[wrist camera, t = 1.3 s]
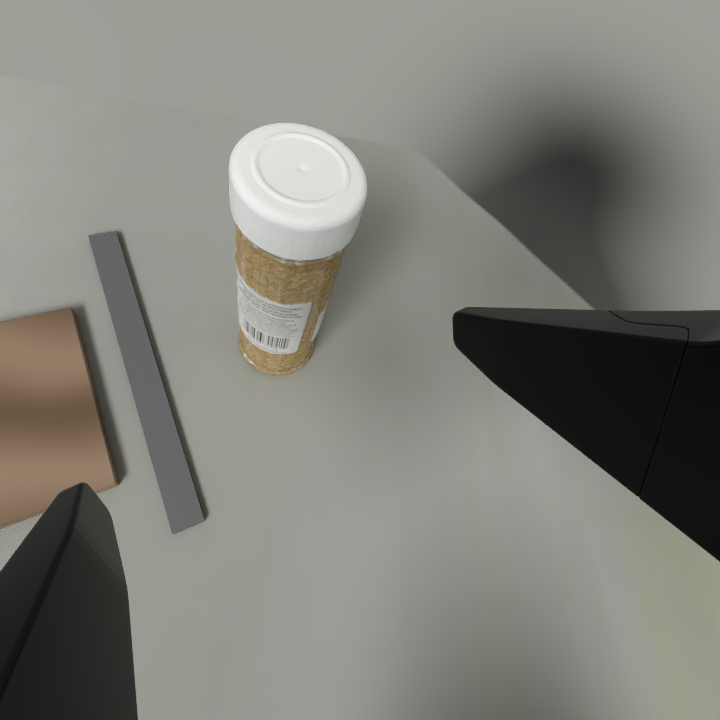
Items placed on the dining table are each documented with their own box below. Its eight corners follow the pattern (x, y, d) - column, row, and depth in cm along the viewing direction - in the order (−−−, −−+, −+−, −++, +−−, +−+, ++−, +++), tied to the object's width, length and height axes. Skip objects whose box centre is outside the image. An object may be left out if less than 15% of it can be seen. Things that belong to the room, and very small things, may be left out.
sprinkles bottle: (327, 343, 26) (397, 178, 14) (277, 393, 24) (308, 250, 12) (273, 297, 26) (297, 97, 14) (220, 342, 24) (193, 153, 12)
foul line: (205, 520, 20) (204, 520, 20) (173, 534, 20) (172, 533, 19) (117, 234, 25) (116, 231, 25) (90, 238, 24) (88, 235, 24)
